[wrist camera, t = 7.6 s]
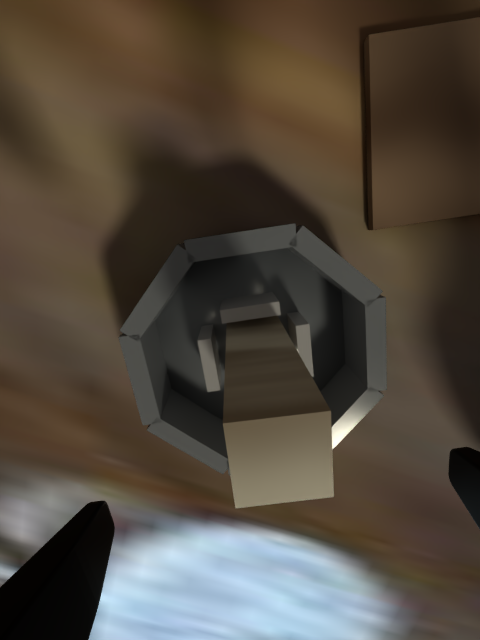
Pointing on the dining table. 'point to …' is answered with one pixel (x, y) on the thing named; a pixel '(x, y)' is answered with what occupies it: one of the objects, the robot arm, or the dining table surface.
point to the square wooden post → (273, 418)
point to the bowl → (244, 304)
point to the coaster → (423, 123)
